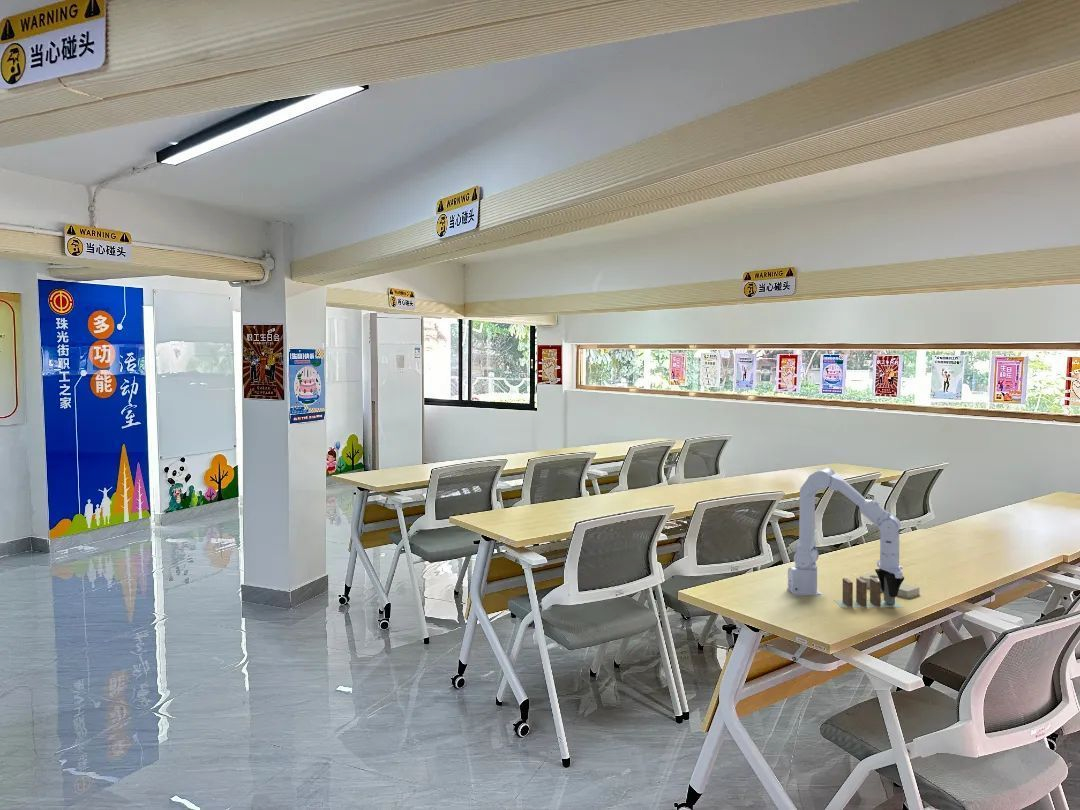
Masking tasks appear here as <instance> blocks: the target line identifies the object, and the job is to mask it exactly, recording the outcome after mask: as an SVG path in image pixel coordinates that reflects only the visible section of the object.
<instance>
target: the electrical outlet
mask: <svg viewBox="0 0 1080 810" xmlns="http://www.w3.org/2000/svg"><path fill="white" fill-rule="evenodd" d="M859 578H861V579H863V580H864V581H865V582H867V589H870V578H875V579H877V580H878V581H879V578H878V575H877V573H872V572H871V573H867V574H863V575H859ZM881 592H883V593H884V591H882V589H881ZM919 595H920V587H919V586H916V585H912V584H911V585H910V584H907V583H903V582H902V583H901V585H900V588H899V591H898V594H897V597H901V598H905V599H910V598H913V597H916V596H919Z"/></svg>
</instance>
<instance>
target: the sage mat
mask: <svg viewBox="0 0 1080 810" xmlns="http://www.w3.org/2000/svg"><path fill="white" fill-rule="evenodd" d="M833 601H834V602H835V603H836V604H837V605H839V606H840V607H841V608H849V607H848V606H847V605H846V604H845V603H843V599H842V600H841V599H837V600H836V599H835V600H833ZM852 608H863V607H862V606H861V605H860V604H858V603H857V602H856V599H855V600H854V599H853V607H852ZM866 608H877V607H876V606H875V605H874V604H872V603H871V602H870V599H869V600H867V607H866ZM880 608H904V606H903V605H902V604H900V603H899V602H898V601H897V600H895V605H890V604H888V603H887V602H885V601H884V599H882V600H881V607H880Z"/></svg>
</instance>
